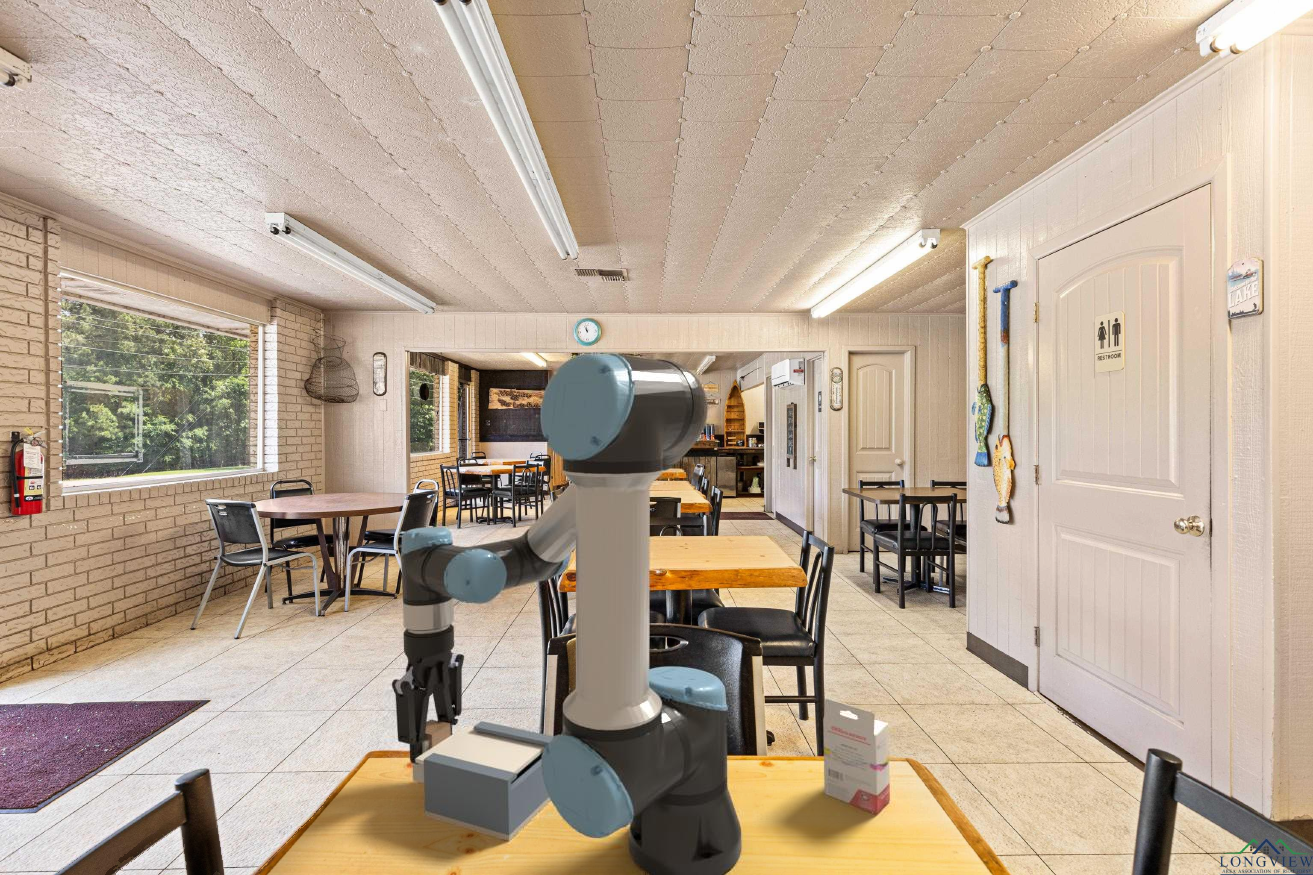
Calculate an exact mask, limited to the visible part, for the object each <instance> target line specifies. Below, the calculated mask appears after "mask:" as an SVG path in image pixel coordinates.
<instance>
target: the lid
mask: <svg viewBox="0 0 1313 875" xmlns="http://www.w3.org/2000/svg"><path fill="white" fill-rule="evenodd" d="M425 739H427V740H429V750H428V751H426V752H425V753H423V754H422V755H420V756H419V757H417V758H416V759H415V763H419V764H423V765H424V759H425V758H426V757H428V756H429V755H431V754H432V753H436V754H440V755H445V756H449V757H453V758H457V759H461V760H465V761H469V762H473V763H477V764H481V765H485V766H489V767H493V768H498V769H502V770H506V771H510V772H514V773H518V772H520V771H521V770H522V769H523V768H524V767H526V766H527V765H528V764H529V763H530V762H532V761H533V760H534V759H535V758H536V757H538V756H539V755H540V754H541V753H542V752H543V751H544V749H545V747H546V746H544V745H539V744H535V743H530V742H526V741H521V740H517V739H512V738H508V737H503V736H498V735H494V734H489V733H485V732H480V731H476V730H474V727H470V726H464V727H462V728H461V729H459V730H458V731H456V732H454V733H452V735H451V736H450V723H445V722H441V721H438V720H435V719H429V720H427V723H426V731H425Z"/></svg>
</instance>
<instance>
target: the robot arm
mask: <svg viewBox="0 0 1313 875" xmlns="http://www.w3.org/2000/svg"><path fill="white" fill-rule="evenodd" d="M708 409H709V407H708V398H707V395H706V393H705V389H704V387H703V385H702V383H701V381H700V380H699V379H698V377H697V376H696V375H695V374H694V373H693V372H692V371H691V370H690V369H689V368H687V367H685V366H684V365H682V364H679V363H678V362H675V361H672V360H667V359H652V358H647V357H640V356H633V355H626V354H624V355H623V354H619V353H607V352H604V353H584V354H579V355H576V356H573V357H572V358H570V359H568V360H566V361H565V362H563V364H561V365H560V366H559V367H558V368H557V371H556V373H555V374H554V375H552V376H551V378H550V379H549V381H548V383H547V385H546V387H545V390H544V393H543V396H542V400H541V405H540V425H541V426H540V428H541V431H542V434H543V437H544V438H545V439H547V446H548V447H549V449H550V450H552V451H553V453H555V454H556V455H557V456H559V457H560V458H562V459H561V460H562V474H563V475H564V476H565V477H566V478H567V479H568V480H569V481H571V483H570V484H569V485H568V486H567V487H566V488H565V489H564V491H563V492H561V493H560V495H558V496H557V498H556V499H555V500H554V501H553V502H552V504H550V506H548V508H546V509H545V511H544V512H543V513H541V515H540V516H539V517H538V518H537V519H536V520H535V521H534V522H533V524H532V525H530V527H529V528H528V529H527V530H526V531H525V532H524V533H523V534H522V535H520V536H519V537H515V538H510V539H504V540H500V541H494V542H493V541H492V542H489V543H483V544H479V545H478V544H477V545H471V546H459V545H454V541H453V536H452V532H451V530H450V529H449V528H448V527H445V526H444V527H443V526H427V527H417V528H412V529H409V530H406V531H405V532H404V533H403V534H402V536H401V553H400V555H399V556H400V563H401V564H400V565H401V586H402V587H401V590H402V614H403V615H402V619H403V620H402V622H403V627H404V629H405V630H404V631H403V653H404V655H405V656H406V657H407V665H406V669H405V673H404V675H403V676H402V677H401V678H399V679H397V678H396V679H393V680H392V683H391V687H392V690H393V691H394V694H395V695H394V696H395V709H396V711H395V712H396V713H395V714H396V728H397V730H396V732H397V740H398V742H399V743H403V744H407V745H409V762H410V763H411V764H412V781H414V782H417V783H421V784H424V765H423V764H419V763H415V759H416V758H417V757H419V756H420V755H422V754H423V753H425V752H426V751H428V750H429V740H427V739H425V731H426V723H427V721H428V712H429V705H430V697H431V696H432V698H433V702H434V708H435V713H436V718H437V721H441V722H445V723H450V736H451V735H453V726H456V725H457V724H458V723H459V719H458V718H456V717H460V716H461V714H462V710H463V708H462V707H463V706H462V705H463V703H462V702H463V701H462V700H463V699H462V698H463V693H462V692H463V687H462V686H463V681H462V680H463V678H462V677H463V665H464V661H465V655H464V654H461V653H456V652H455V653H454V652H452V650H453V649H454V648H455V627H454V625H453V622H455V612H454V600H456V601H459V602H462V603H466V604H477V605H481V604H482V605H483V604H487V603H490V602H491V601H493V600H494V599H495V598H496V597H497V596H499V595H500V594H501V592H502V591H506V590H509V589H514V588H517V587H522V586H525V585H529V584H533V583H537V582H538V583H539V582H543V581H548V580H551V579H553V578H554V577H557V576H560V575H562V574H563V573H565V572H566V571H567V570H568V567H569V563H570V561H571V553H572V552H573V551H574V550H575V689H574V690H573V691H572V692H571V693H570V694H568V695H567V696H566V698H565V699H564V701H563V703H562V732H561V734H557V735H553V736H554V737H553V738H552V740H551V741H550V742H549V744H548V745H547V746H546V747H545V749H544V751H543V754H542V761H541V767H542V775H543V780H544V784H545V787H546V790H547V792H548V795H549V797H550V799H551V801H550V802H551V804H552V805H553V807H555V809H556V811H557V812H558V814H559V816H561V818H562V819H563V820H564V821H565V822H566V824H567V825H569V827H571V828H572V829H573V830H574V831H576V832H577V833H579V834H581V835H583V836H585V837H588V838H593V839H602V838H606V837H608V836H610V835H612V834H614V833H615V832H617V831H619V830H620V829H622V828H626V827H627V826H628V827H629V828H628V849H629V853H630V856H631V859H632V860H633V862H635V864H636V865H637V866H638V867H639V868H640V869H641V870H643V871H644V872H645V873H647V874H648V875H723V874H726V873H727V872H729V870H730V869H732V868H733V867H734V866H735V865H736V863H737V862H738V861H739V858H741V857H740V856H741V855H742V854H741V853H742V846H743V845H742V841H743V840H742V827H741V823H740V820H739V817H738V815H737V811H736V808H735V805H734V802H733V800H732V797H731V795H730V794H731V793H730V792H729V788H728V786H729V785H728V730H727V728H728V727H727V724H728V723H727V721H728V720H727V719H728V715H727V714H728V713H727V712H728V710H729V707H728V705H727V697H726V696H727V695H726V688H725V685H724V683H723V681H721V680H720V678H719V677H717V676H716V675H714V674H712V673H710V672H708V671H704V670H701V669H697V668H692V667H684V666H659V667H654V668H650V559H651V558H650V555H651V552H650V548H651V547H650V546H651V545H650V544H651V543H650V538H651V537H650V534H651V533H650V532H651V531H650V528H651V527H650V526H651V525H650V521H651V520H650V517H651V516H650V515H651V512H650V511H651V510H650V509H651V508H650V506H651V505H650V504H651V499H650V497H651V496H650V495H651V494H650V493H651V490H650V489H651V487H652V485H653V483H654V482H655V481H656V480H657V479H658V478H659V477H660V476H661V475H662V474H663V473H664V472H666V471H668V470H670V469H671V468H672V467H673V466H675V464H676V463H678V462H679V460H681V459H682V458H683V457H684V456H685V455H686V454H687V453H688V451H690V449H691V448H692V447H693V446H694V445H695V443H697V441H698V440H699V438H700V437H701V434H702V433H703V431H704V429H705V425H706V423H707V418H708V413H709V412H708Z"/></svg>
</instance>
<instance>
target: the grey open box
mask: <svg viewBox="0 0 1313 875" xmlns="http://www.w3.org/2000/svg"><path fill="white" fill-rule="evenodd" d="M473 728H474V730H476V731H480V732H485V733H489V734H494V735H498V736H503V737H508V738H512V739H517V740H521V741H526V742H530V743H535V744H539V745H544V746H547V745H548V744H549V742H550V741H551V740H552V738H553V737H554V736H555V735H550V734H544V733H540V732H535V731H531V730H526V729H521V728H516V727H512V726H506V725H501V724H497V723H493V722H488V721H483V720H482V721H480V722H478V723H477V724H475V725H474V726H473ZM542 754H543V752H542V753H541V754H540V755H539V756H538V757H536V758H535V759H534V760H533V761H532V762H530V763H529V764H528V765H527V766H526V767H524V768H523V769H522V770H521V771H520V772H518V773H514V772H510V771H506V770H502V769H498V768H493V767H489V766H485V765H481V764H477V763H473V762H469V761H465V760H461V759H457V758H453V757H449V756H445V755H440V754H436V753H432V754H431V755H429V756H428V757H426V758H425V759H424V783H423V787H424V788H423V789H424V790H423V791H424V792H423V793H424V795H423V796H424V817H426V818H430V819H434V820H437V821H439V822H444V823H447V824H450V825H453V826H457V827H459V828H464V829H467V830H470V831H474V832H477V833H480V834H483V835H486V836H491V837H494V838H497V839H500V840H503V841H507V842H510V841H511V840H512V839H513V838H514V837H516V836H517V835H518V834H519V832H520V831H521V830H522V829H524V828H525V827H526V826H527V825H528V823H530V822H531V821H532V819H534V817H536V816H537V814H539V813H540V812H541V811H542V810H543V809H544V808H545V807H547V805H549V803H550V802H552V801H551V799H550V797H549V795H548V792H547V790H546V787H545V784H544V780H543V775H542V767H541V761H542Z"/></svg>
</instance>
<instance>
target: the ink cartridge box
mask: <svg viewBox="0 0 1313 875" xmlns="http://www.w3.org/2000/svg"><path fill="white" fill-rule="evenodd" d="M823 702H824V706H823V707H824V712H823V714H824V716H823V718H822V719H823V720H822V722H823V723H822V724H823V725H822V726H823V764H824V766H823V771H824V772H823V776H824V777H823V778H824V780H823V782H824V786H823V787H824V793H825V795H828V796H830V797H833V798H835V799H837V800H840V801H843V802H845V803H847V804H850V805H851V806H854V807H856V808H857V807H858V808H859V809H861V810H864V811H867V812H870V813H872V814H874V815H878V814H879V813H880V812H881V811H882V810H883V809H884V808H885V807H886V805H888V803H889V802H890V801H891V790H890V788H891V787H890V786H891V784H890V746H889V744H890V743H889V723H888V722H884V721H881V720H878V719H877V720H876V715H875V713H874V712H873V711H870V710H866V709H863V708H860V707H857V706H854V705H851V704H847V703H844V702H840V701H838V700H834V699H830V698H825V699H824V701H823Z"/></svg>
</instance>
